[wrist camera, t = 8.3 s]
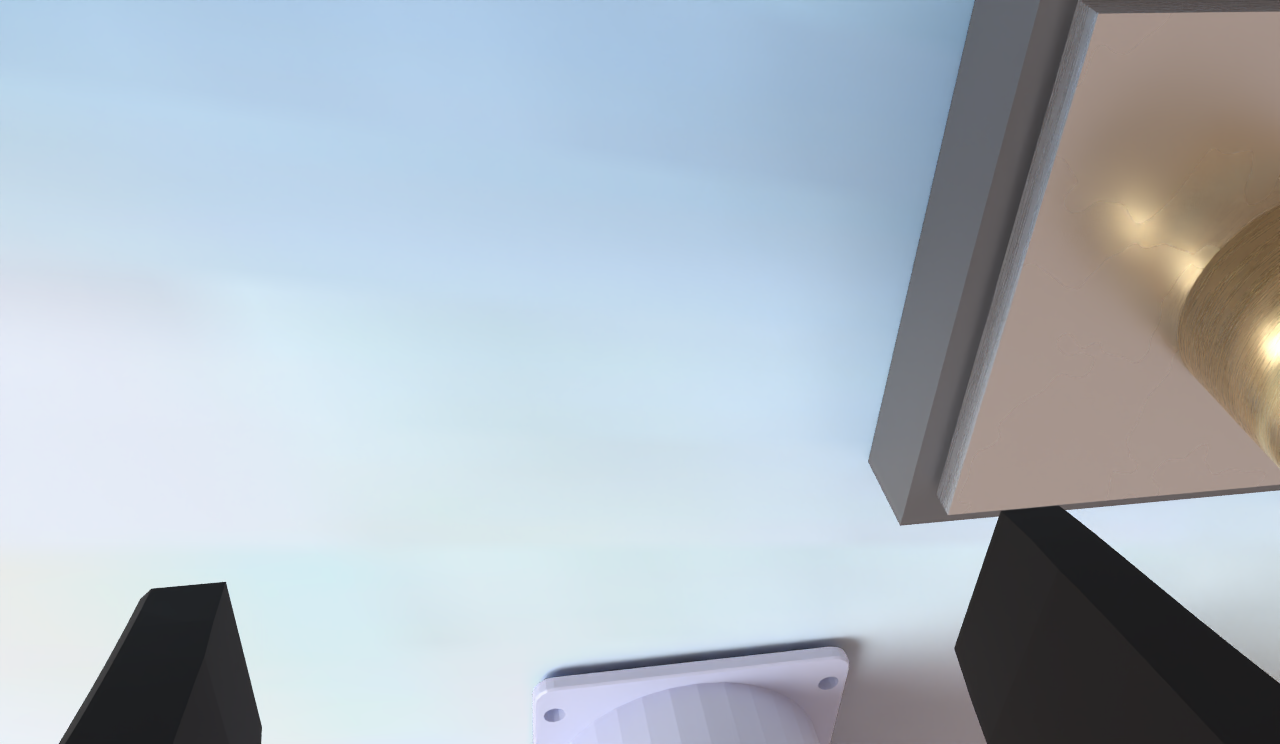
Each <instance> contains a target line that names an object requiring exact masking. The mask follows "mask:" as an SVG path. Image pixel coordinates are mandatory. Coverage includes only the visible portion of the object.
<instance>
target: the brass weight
mask: <svg viewBox="0 0 1280 744" xmlns="http://www.w3.org/2000/svg"><path fill="white" fill-rule="evenodd" d="M1177 339H1178V349H1179V353H1180V356H1181V359H1182V361H1183V363H1184V365H1185V367H1186V368H1187V369H1188V370H1189V372H1190V373H1191V374H1192V375H1193V376H1194V377H1195V378H1196V379H1197V381H1198V382H1199V383H1200V384H1201V385H1202V386H1203V387H1204V388H1205V389H1206V390H1207V391H1208V392H1209V393H1210V395H1211V396H1212V397H1213V398H1214V399H1215V400H1216V401H1217V402H1218V403H1219V404H1220V405H1221V406H1222V407H1223V409H1224V410H1225V411H1226V412H1227V413H1228V414H1229V415H1230V416H1231V417H1232V418H1233V419H1234V420H1235V421H1236V422H1237V424H1238V425H1239V426H1240V427H1241V428H1242V429H1243V430H1244V431H1245V432H1246V433H1247V434H1248V435H1249V436H1250V438H1251V439H1252V440H1253V441H1254V442H1255V443H1256V444H1257V445H1258V446H1259V447H1260V448H1261V449H1262V450H1263V452H1264V453H1265V454H1266V455H1267V456H1268V457H1269V458H1270V459H1271V460H1272V461H1273V462H1274V463H1275V464H1276V465H1277V467H1278V468H1279V469H1280V205H1278V206H1276V207H1274V208H1273V209H1271V210H1269V211H1268V212H1266V213H1264V214H1263V215H1261V216H1260V217H1258V218H1256V219H1255V220H1254V221H1252V222H1251V223H1250V224H1248V225H1247V226H1246V227H1244V228H1243V229H1242V230H1240V231H1239V232H1238V233H1237V234H1236V235H1235V236H1234V237H1232V238H1231V239H1230V240H1229V241H1228V242H1227V243H1226V244H1225V245H1224V246H1223V247H1222V248H1221V249H1220V250H1219V251H1218V252H1217V253H1216V254H1215V255H1214V256H1213V258H1212V259H1211V260H1210V261H1209V263H1208V264H1207V265H1206V266H1205V268H1204V269H1203V270H1202V272H1201V273H1200V275H1199V276H1198V278H1197V279H1196V281H1195V282H1194V284H1193V286H1192V288H1191V290H1190V292H1189V294H1188V295H1187V298H1186V300H1185V303H1184V305H1183V308H1182V311H1181V315H1180V319H1179V323H1178V333H1177Z"/></svg>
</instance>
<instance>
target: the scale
mask: <svg viewBox="0 0 1280 744" xmlns="http://www.w3.org/2000/svg"><path fill="white" fill-rule="evenodd" d="M1077 3H1078V0H975V2H974V6H973V11H972V15H971V19H970V24H969V28H968V32H967V37H966V41H965V45H964V50H963V54H962V58H961V63H960V67H959V71H958V76H957V80H956V84H955V88H954V93H953V97H952V101H951V106H950V110H949V114H948V119H947V123H946V127H945V132H944V136H943V140H942V145H941V149H940V153H939V158H938V162H937V166H936V171H935V175H934V179H933V184H932V188H931V192H930V197H929V201H928V205H927V209H926V214H925V218H924V222H923V227H922V231H921V235H920V240H919V244H918V248H917V253H916V257H915V261H914V266H913V270H912V274H911V279H910V283H909V287H908V292H907V296H906V300H905V305H904V309H903V313H902V318H901V322H900V326H899V330H898V335H897V339H896V343H895V348H894V352H893V356H892V361H891V365H890V369H889V374H888V378H887V382H886V387H885V391H884V395H883V400H882V404H881V408H880V413H879V417H878V421H877V426H876V430H875V434H874V439H873V443H872V447H871V451H870V456H869V460H868V462H869V464H870V466H871V468H872V470H873V472H874V474H875V476H876V478H877V480H878V482H879V484H880V486H881V488H882V490H883V492H884V494H885V496H886V498H887V500H888V502H889V504H890V506H891V508H892V510H893V512H894V514H895V516H896V518H897V520H898V522H899V524H900V525H911V524H922V523H932V522H943V521H954V520H965V519H975V518H986V517H997V516H999V515H1000V512H1001V511H1004V510H998V511H987V512H976V513H966V514H955V515H948V514H947V512H946V511H945V509H944V507H943V505H942V503H941V502H940V500H939V498H938V496H937V491H938V487H939V484H940V480H941V477H942V473H943V470H944V466H945V463H946V459H947V456H948V452H949V449H950V445H951V442H952V438H953V435H954V431H955V428H956V424H957V421H958V417H959V414H960V410H961V407H962V403H963V400H964V396H965V393H966V389H967V386H968V382H969V379H970V375H971V372H972V369H973V365H974V362H975V358H976V355H977V351H978V348H979V344H980V341H981V337H982V334H983V330H984V327H985V323H986V320H987V316H988V313H989V309H990V306H991V302H992V299H993V295H994V292H995V288H996V285H997V281H998V278H999V274H1000V271H1001V267H1002V264H1003V260H1004V257H1005V254H1006V250H1007V247H1008V243H1009V240H1010V236H1011V233H1012V229H1013V226H1014V222H1015V219H1016V215H1017V212H1018V208H1019V205H1020V201H1021V198H1022V194H1023V191H1024V187H1025V184H1026V180H1027V177H1028V173H1029V170H1030V166H1031V163H1032V159H1033V156H1034V152H1035V149H1036V145H1037V142H1038V138H1039V135H1040V132H1041V128H1042V125H1043V121H1044V118H1045V114H1046V111H1047V107H1048V104H1049V100H1050V97H1051V93H1052V90H1053V86H1054V83H1055V79H1056V76H1057V72H1058V69H1059V65H1060V62H1061V58H1062V55H1063V51H1064V48H1065V44H1066V41H1067V37H1068V34H1069V30H1070V27H1071V23H1072V20H1073V17H1074V13H1075V10H1076V6H1077ZM1276 490H1280V485H1269V486H1259V487H1248V488H1237V489H1226V490H1215V491H1204V492H1194V493H1183V494H1172V495H1161V496H1150V497H1139V498H1128V499H1118V500H1107V501H1096V502H1085V503H1074V504H1063V505H1059V506H1060V507H1061V508H1063V509H1064V510H1072V509H1083V508H1093V507H1104V506H1115V505H1126V504H1136V503H1147V502H1158V501H1169V500H1179V499H1190V498H1201V497H1212V496H1222V495H1233V494H1244V493H1255V492H1265V491H1276ZM1052 506H1058V505H1052ZM1042 507H1047V506H1042ZM1031 508H1036V507H1031ZM1020 509H1026V508H1020ZM1009 510H1015V509H1009Z"/></svg>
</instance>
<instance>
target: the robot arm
mask: <svg viewBox="0 0 1280 744" xmlns="http://www.w3.org/2000/svg"><path fill="white" fill-rule="evenodd" d="M954 649H955V652H956V655H957V658H958V661H959V664H960V667H961V670H962V673H963V676H964V679H965V682H966V685H967V688H968V692H969V695H970V698H971V701H972V703H973V706H974V709H975V712H976V714H977V717H978V720H979V723H980V725H981V728H982V731H983V734H984V736H985V739H986V742H987V744H1280V683H1278V682H1277V681H1276V680H1275V679H1273V678H1272V677H1271V676H1269V675H1268V674H1267V673H1266V672H1264V671H1263V670H1262V669H1260V668H1259V667H1258V666H1257V665H1255V664H1254V663H1253V662H1252V661H1250V660H1249V659H1248V658H1247V657H1245V656H1244V655H1243V654H1241V653H1240V652H1239V651H1238V650H1236V649H1235V648H1234V647H1233V646H1231V645H1230V644H1229V643H1228V642H1226V641H1225V640H1224V639H1223V638H1221V637H1220V636H1219V635H1218V634H1216V633H1215V632H1214V631H1213V630H1212V629H1210V628H1209V627H1208V626H1207V625H1205V624H1204V623H1203V622H1202V621H1200V620H1199V619H1198V618H1197V617H1195V616H1194V615H1193V614H1192V613H1191V612H1189V611H1188V610H1187V609H1186V608H1184V607H1183V606H1182V605H1181V604H1180V603H1178V602H1177V601H1176V600H1175V599H1174V598H1172V597H1171V596H1170V595H1169V594H1167V593H1166V592H1165V591H1164V590H1163V589H1161V588H1160V587H1159V586H1158V585H1157V584H1155V583H1154V582H1153V581H1152V580H1150V579H1149V578H1148V577H1147V576H1146V575H1144V574H1143V573H1142V572H1141V571H1140V570H1138V569H1137V568H1136V567H1135V566H1134V565H1132V564H1131V563H1130V562H1129V561H1127V560H1126V559H1125V558H1124V557H1123V556H1121V555H1120V554H1119V553H1118V552H1117V551H1115V550H1114V549H1113V548H1112V547H1110V546H1109V545H1108V544H1107V543H1106V542H1104V541H1103V540H1102V539H1101V538H1099V537H1098V536H1097V535H1096V534H1095V533H1093V532H1092V531H1091V530H1090V529H1088V528H1087V527H1086V526H1085V525H1083V524H1082V523H1081V522H1080V521H1078V520H1077V519H1076V518H1074V517H1073V516H1072V515H1071V514H1069V513H1068V512H1067V511H1065V510H1064V509H1063V508H1061V507H1060V506H1059V505H1058V506H1047V507H1036V508H1026V509H1015V510H1004V511H1001V512H1000V515H999V518H998V521H997V524H996V527H995V530H994V533H993V536H992V539H991V542H990V544H989V547H988V550H987V553H986V556H985V559H984V562H983V565H982V568H981V571H980V574H979V577H978V580H977V583H976V586H975V589H974V592H973V595H972V598H971V600H970V603H969V606H968V609H967V612H966V615H965V618H964V621H963V624H962V627H961V630H960V633H959V636H958V639H957V642H956V645H955V648H954ZM849 667H850V665H849V660H848V658H847V655H846V653H845V651H844V650H843V649H841V648H838V647H821V648H812V649H803V650H794V651H785V652H776V653H767V654H758V655H749V656H740V657H731V658H722V659H713V660H704V661H695V662H686V663H677V664H668V665H659V666H650V667H641V668H632V669H623V670H614V671H605V672H596V673H587V674H578V675H569V676H560V677H552V678H548V679H545V680H543V681H541V682H539V683H538V684H537V685H536V686H535V687H534V690H533V744H830V742H831V738H832V734H833V730H834V726H835V722H836V718H837V714H838V710H839V706H840V702H841V699H842V695H843V691H844V687H845V683H846V679H847V675H848V671H849ZM261 733H262V726H261V722H260V718H259V714H258V710H257V706H256V702H255V698H254V694H253V689H252V685H251V681H250V677H249V673H248V669H247V665H246V661H245V657H244V653H243V649H242V645H241V641H240V637H239V633H238V629H237V625H236V621H235V617H234V613H233V609H232V605H231V601H230V597H229V593H228V589H227V585H226V582H219V583H208V584H198V585H187V586H176V587H165V588H154V589H151V590H150V591H149V592H148V593H146V594H145V595H144V596H143V597H142V598H141V599H140V601H139V603H138V605H137V606H136V608H135V610H134V612H133V614H132V616H131V618H130V620H129V622H128V624H127V626H126V627H125V629H124V631H123V633H122V635H121V637H120V639H119V640H118V642H117V644H116V646H115V648H114V650H113V651H112V653H111V655H110V657H109V659H108V660H107V662H106V664H105V666H104V668H103V669H102V671H101V673H100V675H99V676H98V678H97V680H96V682H95V683H94V685H93V687H92V689H91V690H90V692H89V694H88V695H87V697H86V699H85V701H84V702H83V704H82V706H81V707H80V709H79V711H78V712H77V714H76V716H75V717H74V719H73V721H72V722H71V724H70V726H69V728H68V729H67V731H66V733H65V734H64V736H63V738H62V739H61V741H60V743H59V744H261Z"/></svg>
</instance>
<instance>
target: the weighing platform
mask: <svg viewBox="0 0 1280 744" xmlns="http://www.w3.org/2000/svg"><path fill="white" fill-rule="evenodd" d="M1278 205H1280V0H1078V3H1077V6H1076V10H1075V13H1074V17H1073V20H1072V23H1071V27H1070V30H1069V34H1068V37H1067V41H1066V44H1065V48H1064V51H1063V55H1062V58H1061V62H1060V65H1059V69H1058V72H1057V76H1056V79H1055V83H1054V86H1053V90H1052V93H1051V97H1050V100H1049V104H1048V107H1047V111H1046V114H1045V118H1044V121H1043V125H1042V128H1041V132H1040V135H1039V138H1038V142H1037V145H1036V149H1035V152H1034V156H1033V159H1032V163H1031V166H1030V170H1029V173H1028V177H1027V180H1026V184H1025V187H1024V191H1023V194H1022V198H1021V201H1020V205H1019V208H1018V212H1017V215H1016V219H1015V222H1014V226H1013V229H1012V233H1011V236H1010V240H1009V243H1008V247H1007V250H1006V254H1005V257H1004V260H1003V264H1002V267H1001V271H1000V274H999V278H998V281H997V285H996V288H995V292H994V295H993V299H992V302H991V306H990V309H989V313H988V316H987V320H986V323H985V327H984V330H983V334H982V337H981V341H980V344H979V348H978V351H977V355H976V358H975V362H974V365H973V369H972V372H971V375H970V379H969V382H968V386H967V389H966V393H965V396H964V400H963V403H962V407H961V410H960V414H959V417H958V421H957V424H956V428H955V431H954V435H953V438H952V442H951V445H950V449H949V452H948V456H947V459H946V463H945V466H944V470H943V473H942V477H941V480H940V484H939V487H938V491H937V496H938V498H939V500H940V502H941V503H942V505H943V507H944V509H945V511H946V512H947V514H948V515H955V514H966V513H976V512H987V511H998V510H1009V509H1020V508H1031V507H1042V506H1052V505H1063V504H1074V503H1085V502H1096V501H1107V500H1118V499H1128V498H1139V497H1150V496H1161V495H1172V494H1183V493H1194V492H1204V491H1215V490H1226V489H1237V488H1248V487H1259V486H1269V485H1280V469H1279V468H1278V467H1277V465H1276V464H1275V463H1274V462H1273V461H1272V460H1271V459H1270V458H1269V457H1268V456H1267V455H1266V454H1265V453H1264V452H1263V450H1262V449H1261V448H1260V447H1259V446H1258V445H1257V444H1256V443H1255V442H1254V441H1253V440H1252V439H1251V438H1250V436H1249V435H1248V434H1247V433H1246V432H1245V431H1244V430H1243V429H1242V428H1241V427H1240V426H1239V425H1238V424H1237V422H1236V421H1235V420H1234V419H1233V418H1232V417H1231V416H1230V415H1229V414H1228V413H1227V412H1226V411H1225V410H1224V409H1223V407H1222V406H1221V405H1220V404H1219V403H1218V402H1217V401H1216V400H1215V399H1214V398H1213V397H1212V396H1211V395H1210V393H1209V392H1208V391H1207V390H1206V389H1205V388H1204V387H1203V386H1202V385H1201V384H1200V383H1199V382H1198V381H1197V379H1196V378H1195V377H1194V376H1193V375H1192V374H1191V373H1190V372H1189V370H1188V369H1187V368H1186V367H1185V365H1184V363H1183V361H1182V359H1181V356H1180V353H1179V349H1178V339H1177V333H1178V323H1179V319H1180V315H1181V311H1182V308H1183V305H1184V303H1185V300H1186V298H1187V295H1188V294H1189V292H1190V290H1191V288H1192V286H1193V284H1194V282H1195V281H1196V279H1197V278H1198V276H1199V275H1200V273H1201V272H1202V270H1203V269H1204V268H1205V266H1206V265H1207V264H1208V263H1209V261H1210V260H1211V259H1212V258H1213V256H1214V255H1215V254H1216V253H1217V252H1218V251H1219V250H1220V249H1221V248H1222V247H1223V246H1224V245H1225V244H1226V243H1227V242H1228V241H1229V240H1230V239H1231V238H1232V237H1234V236H1235V235H1236V234H1237V233H1238V232H1239V231H1240V230H1242V229H1243V228H1244V227H1246V226H1247V225H1248V224H1250V223H1251V222H1252V221H1254V220H1255V219H1256V218H1258V217H1260V216H1261V215H1263V214H1264V213H1266V212H1268V211H1269V210H1271V209H1273V208H1274V207H1276V206H1278Z"/></svg>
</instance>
